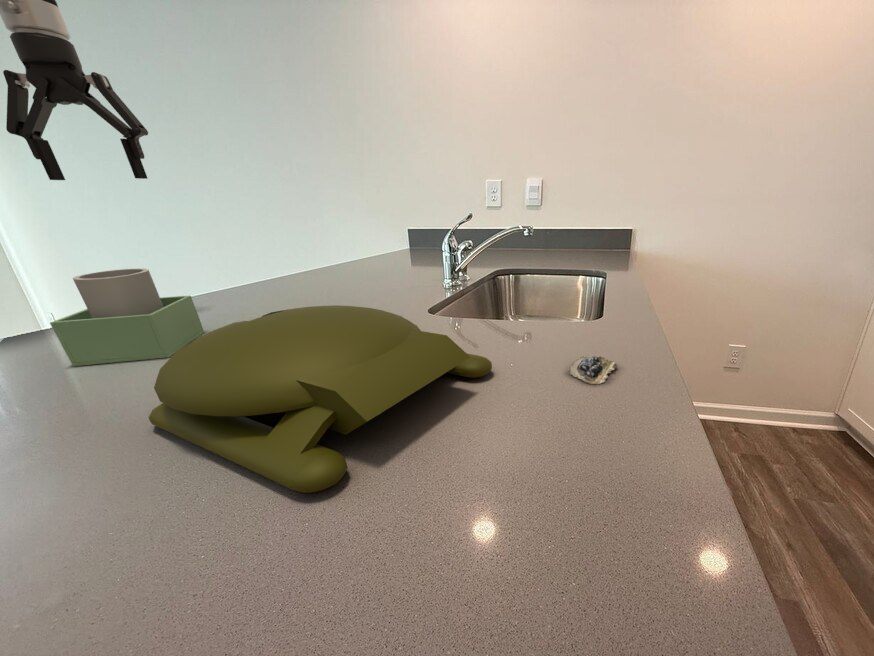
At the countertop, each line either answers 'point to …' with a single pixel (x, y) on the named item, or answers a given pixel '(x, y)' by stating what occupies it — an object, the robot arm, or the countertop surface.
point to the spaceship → (299, 385)
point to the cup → (119, 293)
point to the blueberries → (592, 369)
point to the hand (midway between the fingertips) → (100, 179)
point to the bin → (129, 334)
